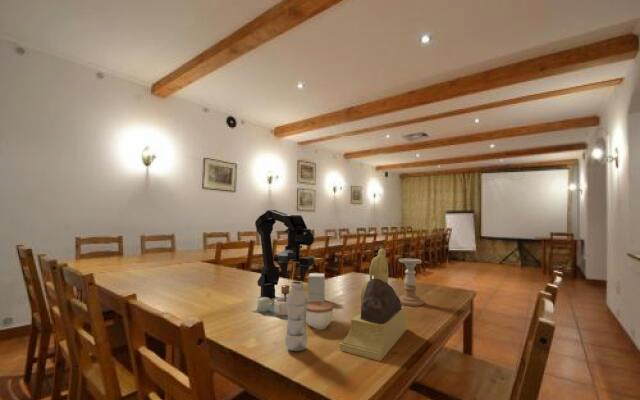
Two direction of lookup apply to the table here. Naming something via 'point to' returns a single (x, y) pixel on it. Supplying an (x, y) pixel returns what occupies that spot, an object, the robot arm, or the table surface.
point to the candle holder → (410, 283)
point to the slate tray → (272, 313)
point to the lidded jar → (319, 314)
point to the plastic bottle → (296, 318)
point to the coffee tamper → (285, 291)
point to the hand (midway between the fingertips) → (292, 279)
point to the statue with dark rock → (376, 315)
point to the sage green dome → (263, 305)
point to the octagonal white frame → (280, 306)
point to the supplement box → (316, 287)
